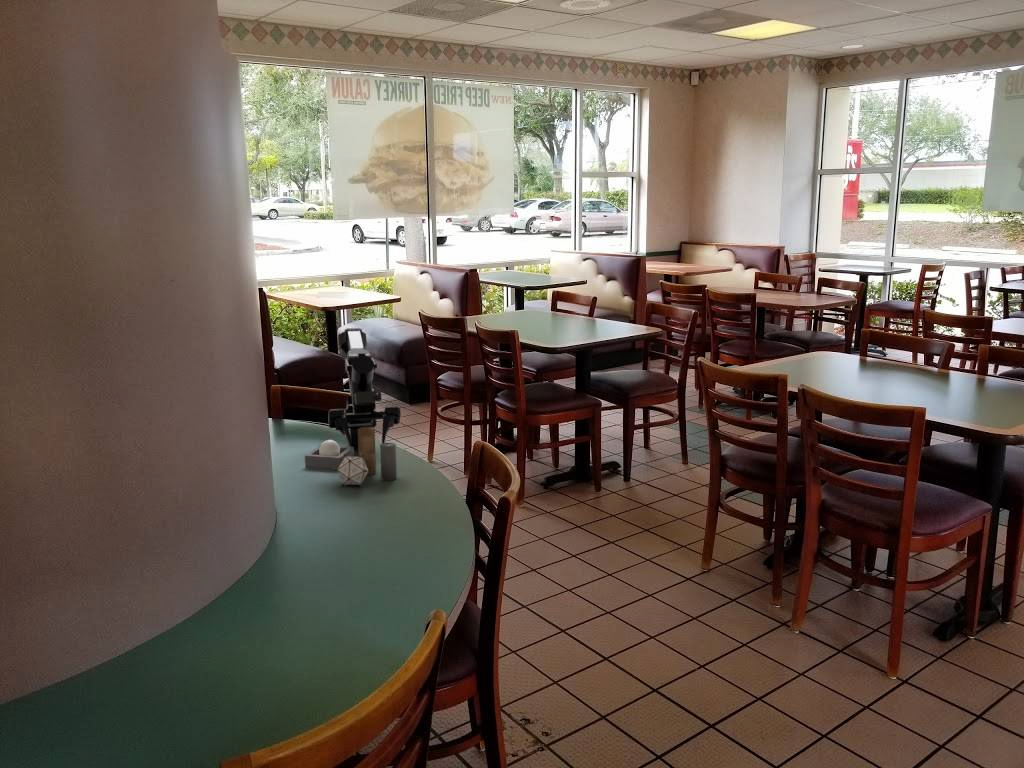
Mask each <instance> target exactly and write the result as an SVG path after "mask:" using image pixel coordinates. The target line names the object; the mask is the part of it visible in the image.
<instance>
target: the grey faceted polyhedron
mask: <svg viewBox="0 0 1024 768" xmlns="http://www.w3.org/2000/svg"><path fill="white" fill-rule="evenodd" d="M344 456H345V458H344V459H343V461H342V462H341V464H340V465H339V467H338V469H333V470H334V472H335V471H336V472H337V473H338V476H339V478H340V479H341V480H340V481H341V482H342V484H341V488H343V487H344V486H345V485H348V486H349V485H352V486H359V487H360V488H363V485H362V484H363V482H364V480H365V479H366V477H367V476H368V475H367V474H368V472H370V473H371V472H372V471H371V470H370V471H369V470H368V468H367V466H366V463H365V461H364V459H363V457H364V454H363V455H362V457H359V456H355V455H354V456H346V454H344Z"/></svg>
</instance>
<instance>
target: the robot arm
mask: <svg viewBox="0 0 1024 768" xmlns="http://www.w3.org/2000/svg"><path fill="white" fill-rule="evenodd" d="M367 343H368V342H367V333H366V332H364V331H363V328H360V327H349V328H348V327H347V328H344V331H342V332H341V333H339V334H338V335H337V350H338V351H340V357H341V358H342V359H343V360H344V366H345V368H344V369H345V372H347V374H348V375H347V376H348V385H349V395H348V396H347V400H346V408H335V409H332V408H331V409H329V411H328V413H327V414H328V415H327V416H328V428H329V429H335V430H336V431H339V432H340V433H341V434H342V436H343V437H344V439H345V440H346V443H347V444H348V445H347V446H346V447H354V451H358V428H361V427H373V428H376V427H377V420H382V433H381V444H383V443H386V438H387V434H388V432H389V431H390V428H393V427H394V426H395V425H398V424H400V422H401V414H402V413H401V407H399V406H398V405H391V406H390V405H389V406H388V405H387V406H384V411H377V410H376V407H377V406H376V402H381V401H382V389H381V388H374V387H373V380H374V373H375V372H374V371H376V369H377V368H378V363H377V362H376V361H375V359H374V357H372V355H371V352H370V350H367V346H368V344H367Z"/></svg>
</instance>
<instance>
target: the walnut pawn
mask: <svg viewBox="0 0 1024 768" xmlns="http://www.w3.org/2000/svg"><path fill="white" fill-rule="evenodd" d="M375 428H376V427H375ZM375 428H373V427H361V428H358V450H357V451H358V457H362V455H363V454H364V457H363V459H364V461H365V463H366V466H367V468H368V470H369V471H370V470H371V471H372V472H371V473H370V472H368V474H367V476H372V475H371V474H373V475H375V474H376V473H377V463H376V462H377V461H376V459H377V458H376V453H377V452H376V429H375ZM374 473H375V474H374Z"/></svg>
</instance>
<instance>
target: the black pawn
mask: <svg viewBox="0 0 1024 768" xmlns="http://www.w3.org/2000/svg"><path fill="white" fill-rule="evenodd" d="M396 444H397V443H393V442H385V443H383V444H382V443H380V445H379V448H380V449H379V453H380V477H381V478H380V479H381V480H382V479H383V480H382V481H384V480H392V481H395V480H397V479H396V478H398V473H397V472H398V471H397V448H396V447H397V446H396ZM394 479H395V480H394Z"/></svg>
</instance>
